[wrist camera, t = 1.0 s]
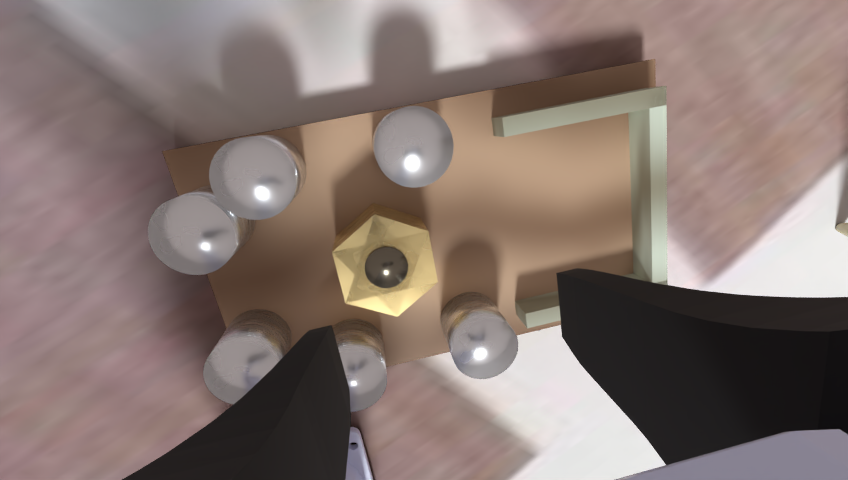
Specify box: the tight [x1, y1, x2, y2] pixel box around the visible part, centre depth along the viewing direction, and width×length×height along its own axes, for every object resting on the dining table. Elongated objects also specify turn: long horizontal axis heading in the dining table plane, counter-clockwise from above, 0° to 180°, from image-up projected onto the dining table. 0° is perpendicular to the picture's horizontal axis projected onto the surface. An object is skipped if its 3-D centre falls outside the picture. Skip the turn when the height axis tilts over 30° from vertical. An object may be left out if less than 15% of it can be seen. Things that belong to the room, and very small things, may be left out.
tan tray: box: [162, 59, 667, 367], centre depth 20 cm, size 12×22×3 cm, turn 100°
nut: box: [332, 203, 438, 317], centre depth 18 cm, size 4×5×3 cm
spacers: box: [148, 106, 518, 412], centre depth 18 cm, size 12×13×3 cm
